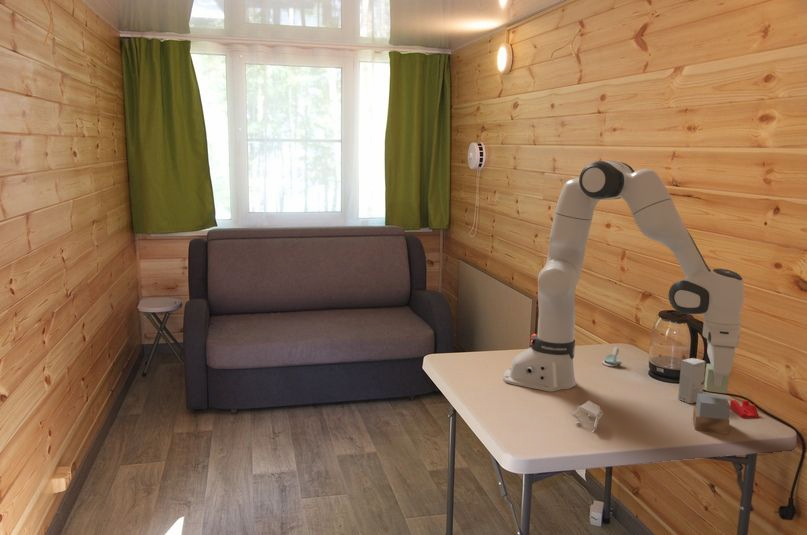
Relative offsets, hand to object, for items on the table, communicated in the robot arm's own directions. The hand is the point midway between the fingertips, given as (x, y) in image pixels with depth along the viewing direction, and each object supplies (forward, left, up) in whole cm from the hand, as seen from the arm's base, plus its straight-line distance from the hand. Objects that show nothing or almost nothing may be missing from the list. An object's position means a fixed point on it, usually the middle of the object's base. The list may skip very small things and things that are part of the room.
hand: (715, 381), depth 180 cm
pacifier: (-27, +44, -13) cm, 53 cm away
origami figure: (-31, -12, -13) cm, 36 cm away
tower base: (0, -1, -13) cm, 13 cm away
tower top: (0, -1, -9) cm, 9 cm away
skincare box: (-4, +18, -13) cm, 22 cm away
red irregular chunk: (+10, +13, -13) cm, 21 cm away
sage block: (0, 0, -2) cm, 2 cm away
